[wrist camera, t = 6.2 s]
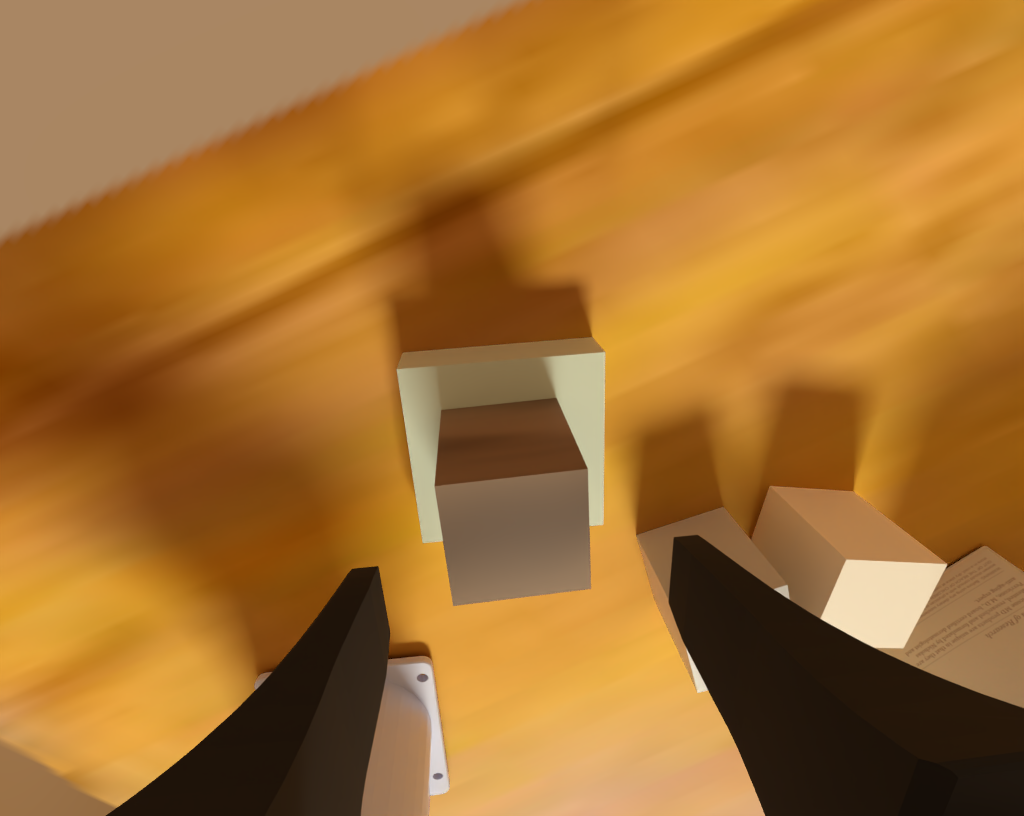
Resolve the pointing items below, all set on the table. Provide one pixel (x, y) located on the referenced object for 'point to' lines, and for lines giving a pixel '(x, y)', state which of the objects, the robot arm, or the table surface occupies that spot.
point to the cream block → (847, 562)
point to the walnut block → (512, 502)
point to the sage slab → (496, 380)
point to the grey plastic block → (722, 536)
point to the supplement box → (973, 628)
